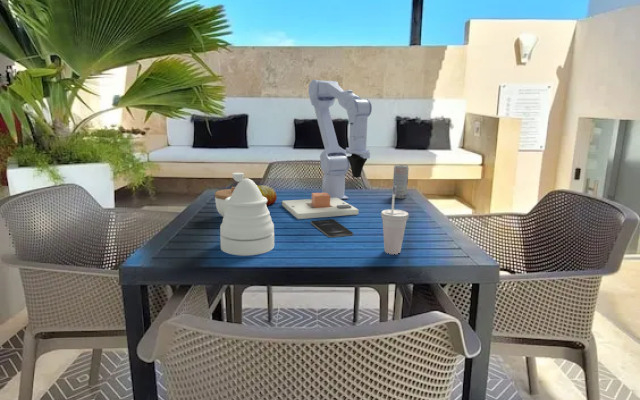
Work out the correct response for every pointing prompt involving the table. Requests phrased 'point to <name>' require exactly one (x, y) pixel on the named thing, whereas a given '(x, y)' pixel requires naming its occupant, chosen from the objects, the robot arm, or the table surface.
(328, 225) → the smartphone
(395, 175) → the energy drink
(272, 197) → the fruit
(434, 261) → the table surface
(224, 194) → the lidded jar
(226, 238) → the honey pot
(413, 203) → the table surface
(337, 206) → the socket plate
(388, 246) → the smoothie
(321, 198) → the orange cube
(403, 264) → the table surface
